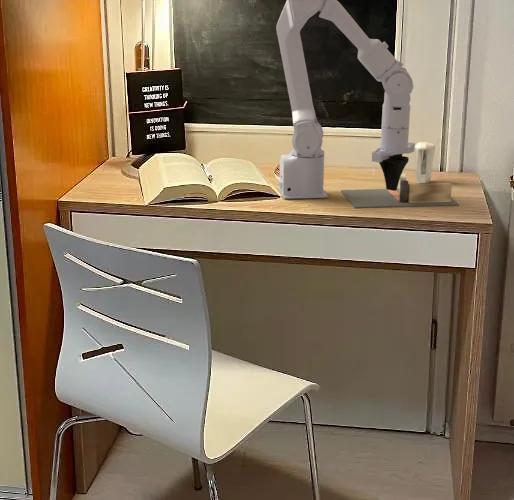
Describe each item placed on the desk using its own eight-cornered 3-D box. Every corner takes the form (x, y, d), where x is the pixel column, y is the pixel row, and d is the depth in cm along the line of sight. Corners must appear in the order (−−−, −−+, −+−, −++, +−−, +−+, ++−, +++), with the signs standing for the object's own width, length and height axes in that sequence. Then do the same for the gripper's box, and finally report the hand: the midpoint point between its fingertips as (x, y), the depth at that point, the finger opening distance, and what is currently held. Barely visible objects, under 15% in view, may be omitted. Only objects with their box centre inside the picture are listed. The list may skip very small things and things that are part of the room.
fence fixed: (400, 202, 188) (401, 182, 186) (398, 200, 189) (399, 180, 188) (450, 201, 189) (452, 181, 188) (448, 199, 191) (450, 179, 189)
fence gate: (406, 198, 189) (407, 183, 188) (400, 198, 190) (401, 183, 189) (404, 187, 198) (405, 173, 197) (398, 187, 198) (399, 173, 197)
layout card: (354, 208, 185) (354, 206, 185) (340, 191, 198) (341, 189, 198) (458, 205, 187) (458, 203, 187) (438, 189, 200) (438, 187, 200)
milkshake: (436, 184, 204) (439, 140, 201) (412, 183, 205) (415, 139, 202) (436, 179, 208) (439, 137, 205) (413, 178, 209) (415, 136, 206)
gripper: (394, 134, 181) (390, 199, 185) (428, 124, 192) (424, 186, 196) (364, 129, 185) (361, 193, 190) (399, 120, 196) (396, 181, 200)
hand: (391, 189), depth 193 cm, fingers closed
